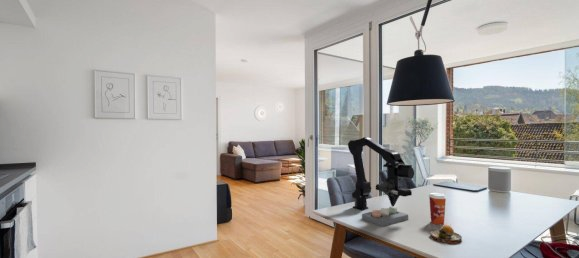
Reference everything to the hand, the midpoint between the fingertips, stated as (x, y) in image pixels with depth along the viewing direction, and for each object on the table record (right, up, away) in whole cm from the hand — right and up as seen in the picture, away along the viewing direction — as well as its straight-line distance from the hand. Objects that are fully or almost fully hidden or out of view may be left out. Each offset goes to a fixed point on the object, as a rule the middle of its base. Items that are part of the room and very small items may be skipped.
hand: (392, 206), depth 147 cm
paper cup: (+19, -6, -9) cm, 21 cm away
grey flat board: (-5, -6, -3) cm, 8 cm away
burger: (+12, -7, -28) cm, 31 cm away
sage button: (0, -4, 0) cm, 4 cm away
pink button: (-10, -4, -6) cm, 13 cm away
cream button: (-5, -4, -3) cm, 7 cm away
